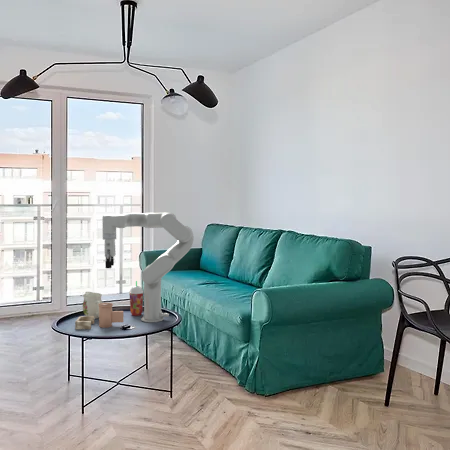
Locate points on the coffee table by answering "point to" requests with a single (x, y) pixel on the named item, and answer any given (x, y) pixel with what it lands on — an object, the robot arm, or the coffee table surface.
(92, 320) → the holder
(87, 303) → the pitcher
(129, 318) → the coffee table surface
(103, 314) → the peach cylinder
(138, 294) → the smoothie
